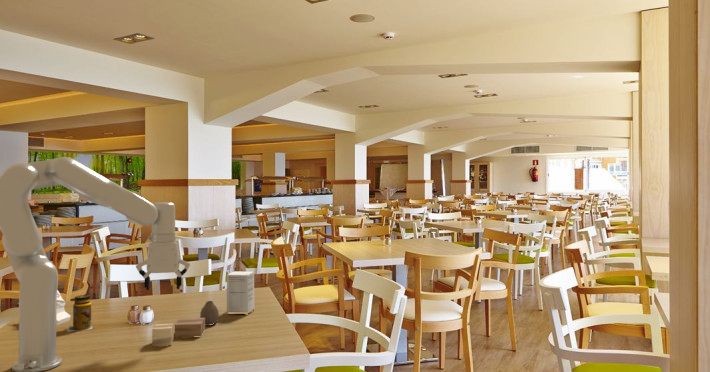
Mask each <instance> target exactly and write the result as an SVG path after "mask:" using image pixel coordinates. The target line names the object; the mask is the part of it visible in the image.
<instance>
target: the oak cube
mask: <svg viewBox="0 0 710 372" xmlns="http://www.w3.org/2000/svg"><path fill="white" fill-rule="evenodd" d="M151 332H152V333H151V334H152V337H151V338H152V339H151V340H152V341H151V342H152V343H151V344H152V345H151V347H152V346H159V347H168V346H167V345H171V346H172V345H173V343H174V333H175V324H174V323H161V324H160V323H157V324H154V326H153V327H152V331H151ZM172 342H173V343H172Z"/></svg>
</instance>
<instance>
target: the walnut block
mask: <svg viewBox="0 0 710 372" xmlns="http://www.w3.org/2000/svg"><path fill="white" fill-rule="evenodd" d="M204 330H205V331H206V325H205V318H200V317H184V318H183V317H182V318H181V317H180V318H179V319H178V320H177V321H176V322H175V324H174V339H181V338H180V337H194V336H201V335H202V333H203V331H204ZM203 334H204V333H203ZM202 336H203V335H202Z"/></svg>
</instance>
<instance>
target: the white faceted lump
mask: <svg viewBox="0 0 710 372" xmlns="http://www.w3.org/2000/svg"><path fill="white" fill-rule="evenodd" d="M65 305H66V300H64V299H63V297H62V295H61V293H60V291H59V290H58V289H57V305H56V311H57V313H56V326H59V325H61V324H64V323H67V322H69V321H70V320H71V317H72V316H71V314H69V313H68V312H66V310H65Z"/></svg>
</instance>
